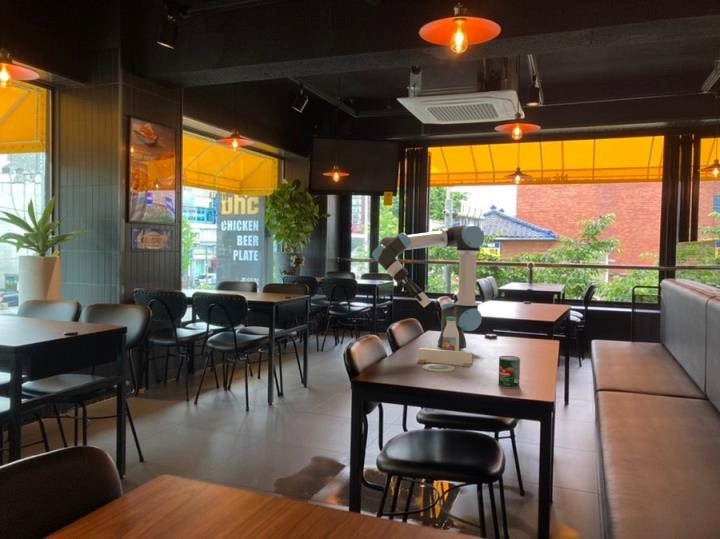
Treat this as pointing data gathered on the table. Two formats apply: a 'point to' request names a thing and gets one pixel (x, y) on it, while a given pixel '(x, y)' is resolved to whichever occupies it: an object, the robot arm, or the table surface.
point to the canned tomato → (509, 371)
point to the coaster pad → (439, 367)
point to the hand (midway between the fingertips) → (427, 304)
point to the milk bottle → (451, 335)
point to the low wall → (445, 357)
